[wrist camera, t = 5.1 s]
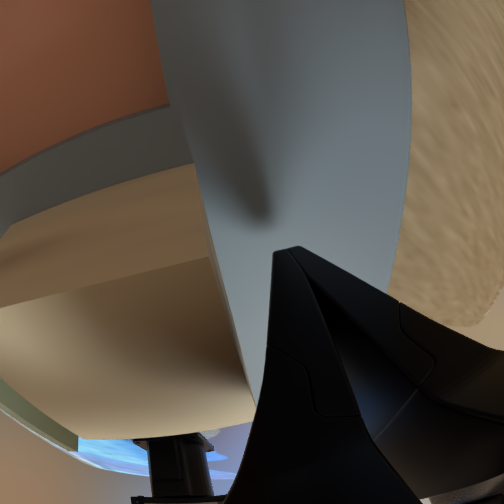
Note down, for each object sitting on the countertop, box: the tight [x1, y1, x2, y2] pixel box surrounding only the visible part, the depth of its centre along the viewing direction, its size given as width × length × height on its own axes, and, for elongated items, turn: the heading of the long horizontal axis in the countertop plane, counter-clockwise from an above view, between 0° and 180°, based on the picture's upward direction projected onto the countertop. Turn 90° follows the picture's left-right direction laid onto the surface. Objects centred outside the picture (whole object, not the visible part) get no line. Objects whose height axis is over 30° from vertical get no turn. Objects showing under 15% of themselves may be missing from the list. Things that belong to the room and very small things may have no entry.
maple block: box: [0, 163, 256, 439], centre depth 7 cm, size 6×6×4 cm
